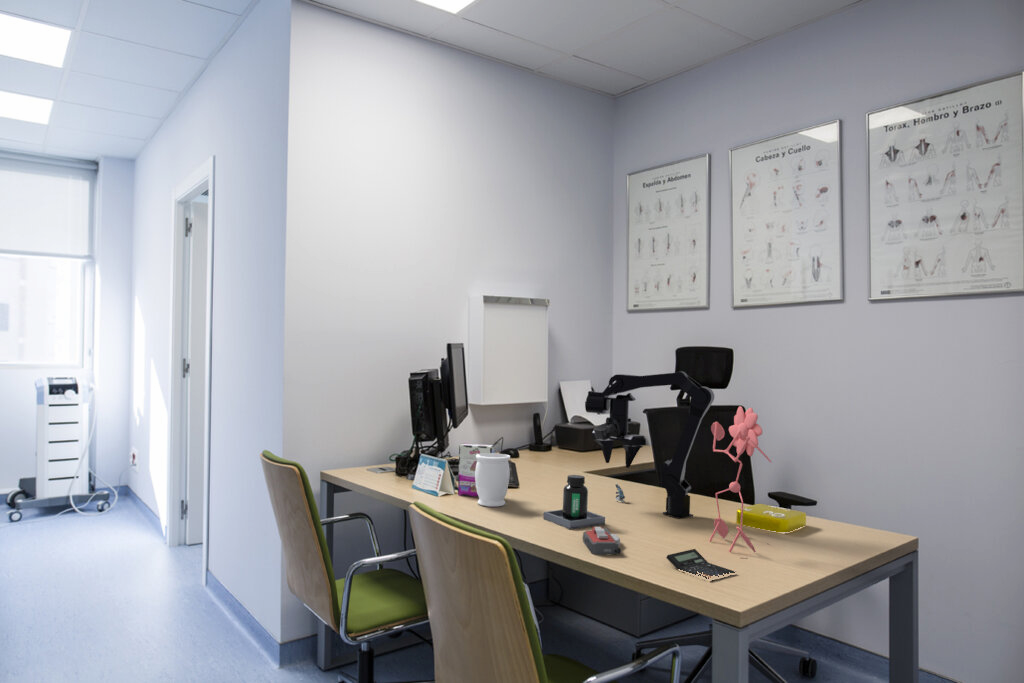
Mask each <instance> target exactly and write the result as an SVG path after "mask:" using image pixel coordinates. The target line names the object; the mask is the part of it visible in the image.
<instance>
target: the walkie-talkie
mask: <svg viewBox="0 0 1024 683" xmlns="http://www.w3.org/2000/svg"><path fill="white" fill-rule="evenodd" d="M582 533H583V534H582V543H583V544H584V545H585V546H586V548H587V550H588V551H589V552H590V554H591V555H595V556H607V555H606V554H618V555H619V554H622V549H621V548H620V546H621V538H620V537H619V536H618V534H617V533H611V531H610V530H609V529H608V528H607V527H604V528H603V527H602V526H592V530H586V531H583V532H582Z"/></svg>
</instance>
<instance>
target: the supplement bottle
mask: <svg viewBox="0 0 1024 683" xmlns="http://www.w3.org/2000/svg"><path fill="white" fill-rule="evenodd" d="M566 480H567V481H566V483H567V484H566V485H565V486H564V487H563V493H562V494H563V495H562V509H563V518H564V519H567V520H569V521H575V520H582V519H587V511H588V505H589V504H588V503H589V502H588V500H589V499H588V496H589V489H588V488H587V486H585V484H586V481H585V476H584V475H578V474H569V475H567V479H566Z"/></svg>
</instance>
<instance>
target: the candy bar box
mask: <svg viewBox="0 0 1024 683" xmlns="http://www.w3.org/2000/svg"><path fill="white" fill-rule="evenodd" d="M458 448H459V449H458V474H457V476H458V478H457V479H458V482H457V486H458V487H457V495H458V496H461V497H462V496H464V497H465V496H466V497H475V498H476V497H477V498H479V496H478V494H477V490H476V481H475V470H476V464H477V461H478V460H477V459H476V455H477V454H482V453H496V445H495V444H481V443H480V444H479V443H478V444H477V443H461V444H460V445H459V446H458Z"/></svg>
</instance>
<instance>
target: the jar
mask: <svg viewBox="0 0 1024 683" xmlns="http://www.w3.org/2000/svg"><path fill="white" fill-rule="evenodd" d="M476 459H477V460H478V461H477V464H476V470H475V481H476V490H477V494H478V496H479V497H478V498H479V499H477V504H478V505H479V506H482V507H490V508H492V507H493V508H494V507H495V508H496V507H502V506H505V505H506V501H505V498H506V496H507V493H508V489H509V488H508V487H509V484H510V477H511V476H510V475H511V473H510V471H511V470H510V464H509V461H510V460H511V455H509V454H506V453H497V452H495V453H482V454H477V455H476Z"/></svg>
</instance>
